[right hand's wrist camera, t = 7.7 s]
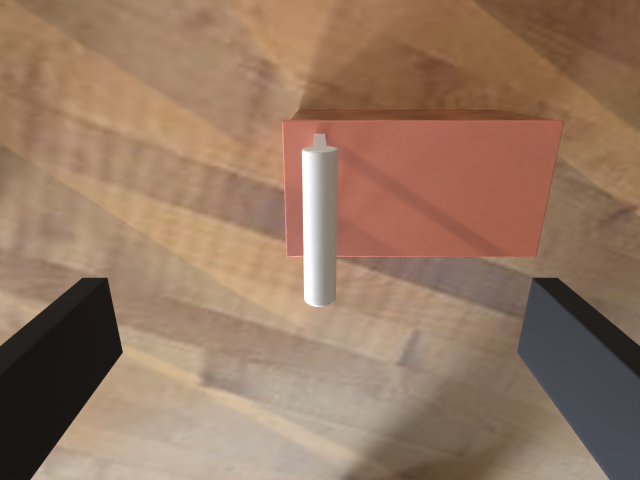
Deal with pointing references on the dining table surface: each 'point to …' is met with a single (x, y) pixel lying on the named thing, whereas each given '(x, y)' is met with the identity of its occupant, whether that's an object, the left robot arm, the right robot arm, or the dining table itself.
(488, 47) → the dining table surface
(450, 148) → the lid
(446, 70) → the dining table surface
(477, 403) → the dining table surface
